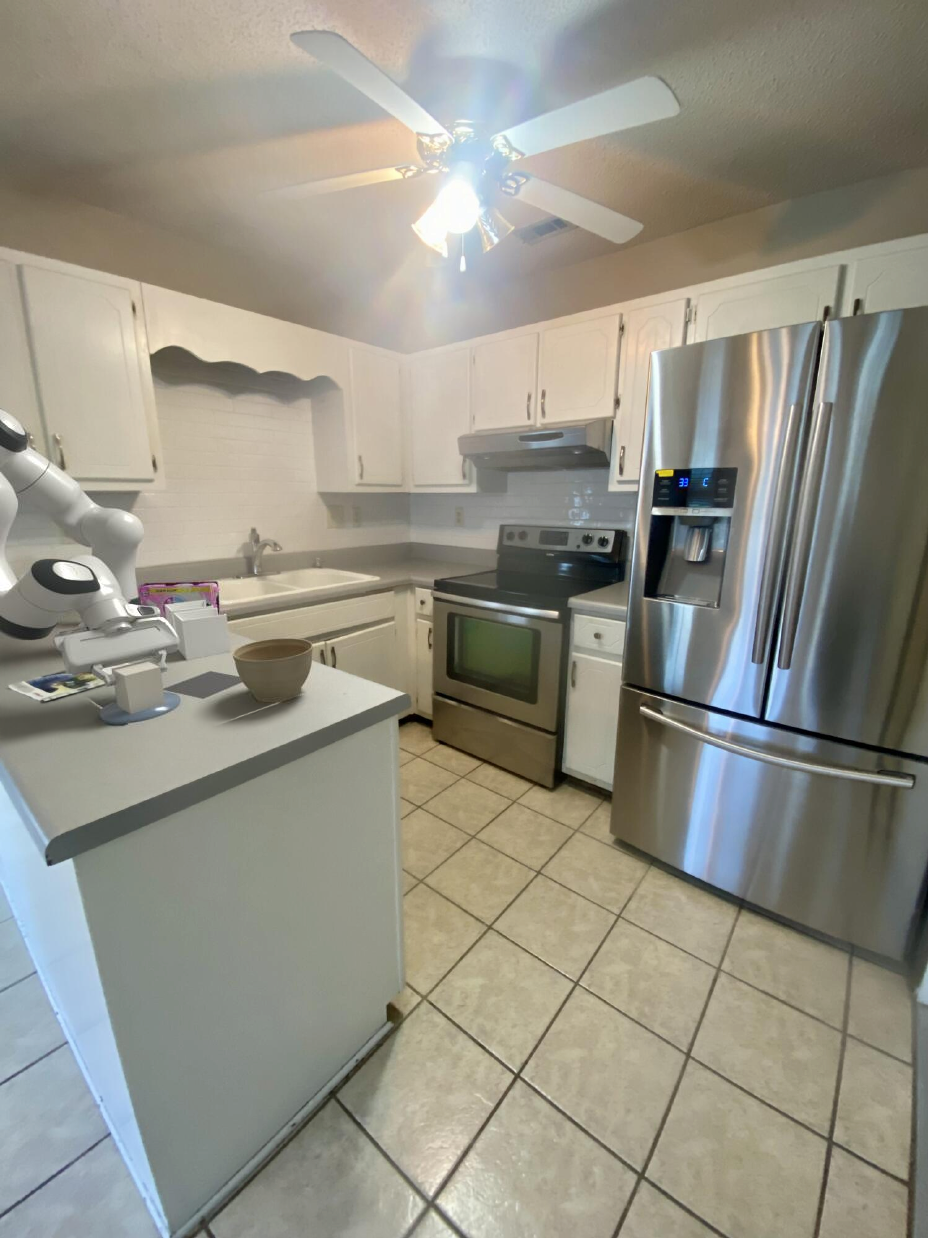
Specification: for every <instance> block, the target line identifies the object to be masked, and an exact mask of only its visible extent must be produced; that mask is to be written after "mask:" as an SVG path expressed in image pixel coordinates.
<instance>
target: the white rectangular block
mask: <svg viewBox="0 0 928 1238" xmlns="http://www.w3.org/2000/svg"><path fill="white" fill-rule="evenodd" d="M111 674H114V676H115V677H114V678H116V685H113V686H114V691H115V697H116V700H117V704H118V707H120V708H122V709H123V710H125V711H127V712H128V713H130V714H133V713H137V712H140V711H143V710H146V709H150V708H153V707H156V706H160V705H163V704H165V697H164V692H165V690H163V689H164V685H163V679H162V678H163V677H162V673H161V670H160V667H159V666H157V664H154V663H152V662H150V661H148V660H145V661H143V660H142V661H139V662H135V663H131V664H127V665H122V666H119V667H113V668H111Z"/></svg>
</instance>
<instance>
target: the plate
mask: <svg viewBox="0 0 928 1238" xmlns="http://www.w3.org/2000/svg"><path fill="white" fill-rule="evenodd" d="M164 697H165V704H163V705H160V706H156V707H153V708H150V709H146V710H143V711H140V712H137V713H133V714H130V713H128V712H127V711H125V710H123V709H122V708H120V707H118V704H117V699H116V700H114V701H112V702H110V703H108V704H106V705H105V706H104V707H102V708H101V709H100V711H99V717H100V720H101V721H102V722H103V723H105V724H108V725H115V726H116V725H119V726H120V725H121V726H122V725H124V726H125V725H128V724H130V723H136V722H142V721H146V720H150V719H154V718H158V717H161V716H163V715H166V714H168V713H171V712H172V711H174V710H175V709H177V708H178V707H179V706H180V705H181V702H182V701H181V696H180V695H178V693H175V692H171V691H164Z"/></svg>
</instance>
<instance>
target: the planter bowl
mask: <svg viewBox="0 0 928 1238" xmlns="http://www.w3.org/2000/svg"><path fill="white" fill-rule="evenodd" d="M313 646H314V645H313V643H312V642H311V641H310V640H307V639H302V638H294V637H283V638H282V637H277V638H269V639H263V640H262V639H261V640H258V641H257V640H256V641H253V642H249V643H247V644H244V645H241V646H239V647H237V648H236V649H235V650H233V652H232V658H233V660H234V664H235V668H236V671H237V674H238V676H239V677H240V678H241V680H242V683H243V685H244V687H246V688H247V689H248V691H250V692H251V693H252V694H253V695H254V698H255V700H257V701H258V702H262V703H281V702H283V703H284V702H287V701H290V700H293V699H295V698H297V697H298V696H300V694H301V693H302V687H303V686H304V684H305V683H306V681H307V679H308V677H309V675H310V672H311V669H312V663H313V649H314V647H313Z"/></svg>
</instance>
